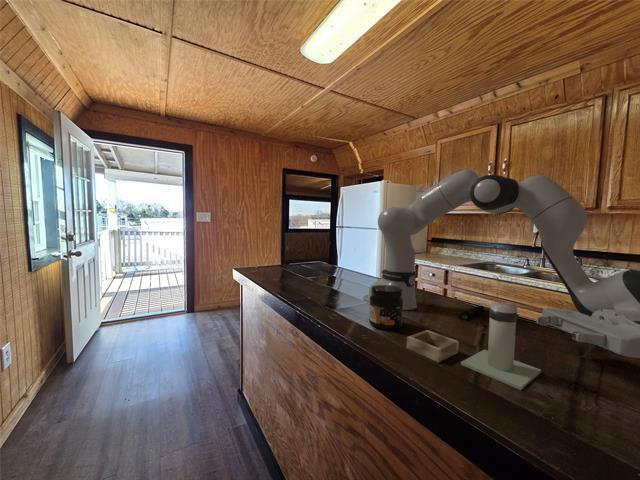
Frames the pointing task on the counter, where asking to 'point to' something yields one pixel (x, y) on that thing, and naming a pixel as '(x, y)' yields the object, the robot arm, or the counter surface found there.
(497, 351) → the white capsule post
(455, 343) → the square wooden frame
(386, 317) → the supplement container
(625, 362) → the counter surface
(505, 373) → the mat
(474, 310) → the electric trimmer
